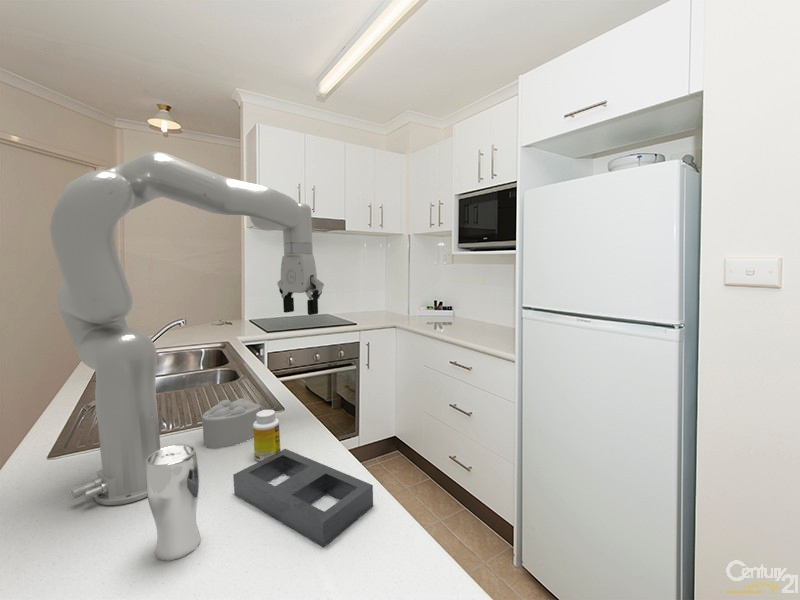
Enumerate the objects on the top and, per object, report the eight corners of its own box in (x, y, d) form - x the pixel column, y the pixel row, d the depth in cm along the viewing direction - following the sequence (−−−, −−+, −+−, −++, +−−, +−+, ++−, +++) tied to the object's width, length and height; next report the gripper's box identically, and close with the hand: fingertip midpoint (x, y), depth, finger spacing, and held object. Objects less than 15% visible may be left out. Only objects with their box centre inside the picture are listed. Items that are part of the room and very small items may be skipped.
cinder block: (323, 547, 59) (322, 522, 59) (234, 494, 73) (233, 474, 73) (373, 506, 69) (372, 485, 69) (286, 466, 83) (285, 448, 82)
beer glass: (211, 529, 64) (205, 442, 62) (190, 562, 57) (182, 465, 55) (168, 531, 63) (161, 443, 62) (141, 564, 57) (132, 467, 55)
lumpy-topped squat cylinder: (266, 434, 99) (264, 401, 98) (214, 453, 89) (212, 417, 88) (245, 423, 106) (244, 392, 105) (196, 440, 96) (193, 406, 95)
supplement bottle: (280, 460, 85) (277, 416, 84) (253, 464, 84) (250, 419, 83) (281, 449, 91) (279, 406, 90) (256, 452, 89) (253, 409, 88)
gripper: (266, 251, 106) (269, 312, 108) (310, 249, 97) (312, 317, 98) (288, 251, 112) (290, 309, 114) (331, 249, 103) (333, 313, 104)
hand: (300, 313), depth 106 cm, fingers open, 9 cm apart
